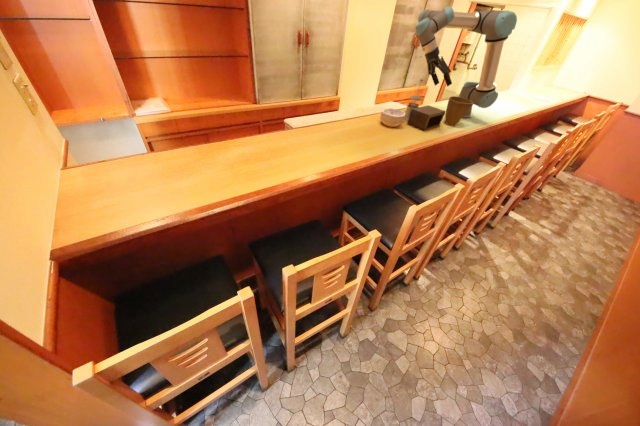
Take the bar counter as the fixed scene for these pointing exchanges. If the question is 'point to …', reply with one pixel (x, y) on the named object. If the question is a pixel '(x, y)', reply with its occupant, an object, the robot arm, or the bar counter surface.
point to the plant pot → (456, 109)
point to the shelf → (425, 117)
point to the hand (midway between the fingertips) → (443, 84)
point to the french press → (412, 104)
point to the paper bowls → (392, 117)
